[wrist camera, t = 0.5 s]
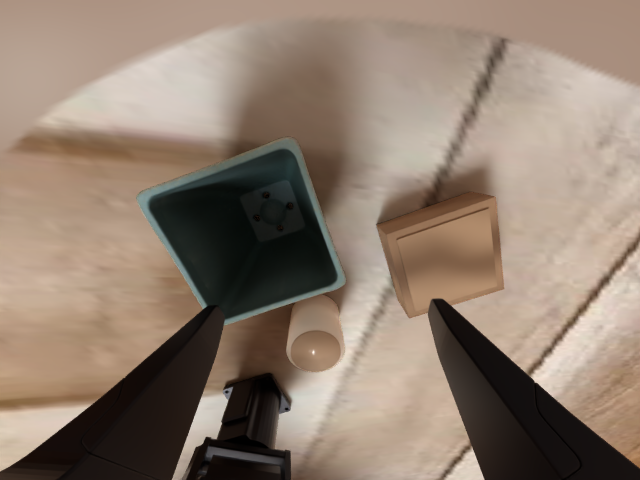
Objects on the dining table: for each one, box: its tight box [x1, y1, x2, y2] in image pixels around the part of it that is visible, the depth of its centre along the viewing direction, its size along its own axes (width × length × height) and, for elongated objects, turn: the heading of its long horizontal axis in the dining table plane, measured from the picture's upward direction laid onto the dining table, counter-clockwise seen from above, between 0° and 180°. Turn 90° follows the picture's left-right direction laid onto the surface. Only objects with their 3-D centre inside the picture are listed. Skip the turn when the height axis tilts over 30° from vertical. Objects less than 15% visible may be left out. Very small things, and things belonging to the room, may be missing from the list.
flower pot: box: [136, 137, 346, 325], centre depth 16 cm, size 9×9×9 cm
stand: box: [377, 192, 504, 318], centre depth 21 cm, size 9×9×3 cm
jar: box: [286, 294, 345, 372], centre depth 22 cm, size 5×5×5 cm
